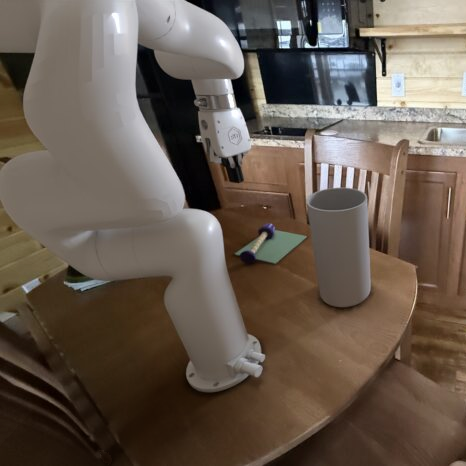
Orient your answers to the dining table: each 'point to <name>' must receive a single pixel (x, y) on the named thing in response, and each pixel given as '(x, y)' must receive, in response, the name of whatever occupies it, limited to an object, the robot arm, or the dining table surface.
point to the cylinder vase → (340, 245)
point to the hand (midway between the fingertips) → (236, 181)
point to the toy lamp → (258, 243)
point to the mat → (275, 246)
